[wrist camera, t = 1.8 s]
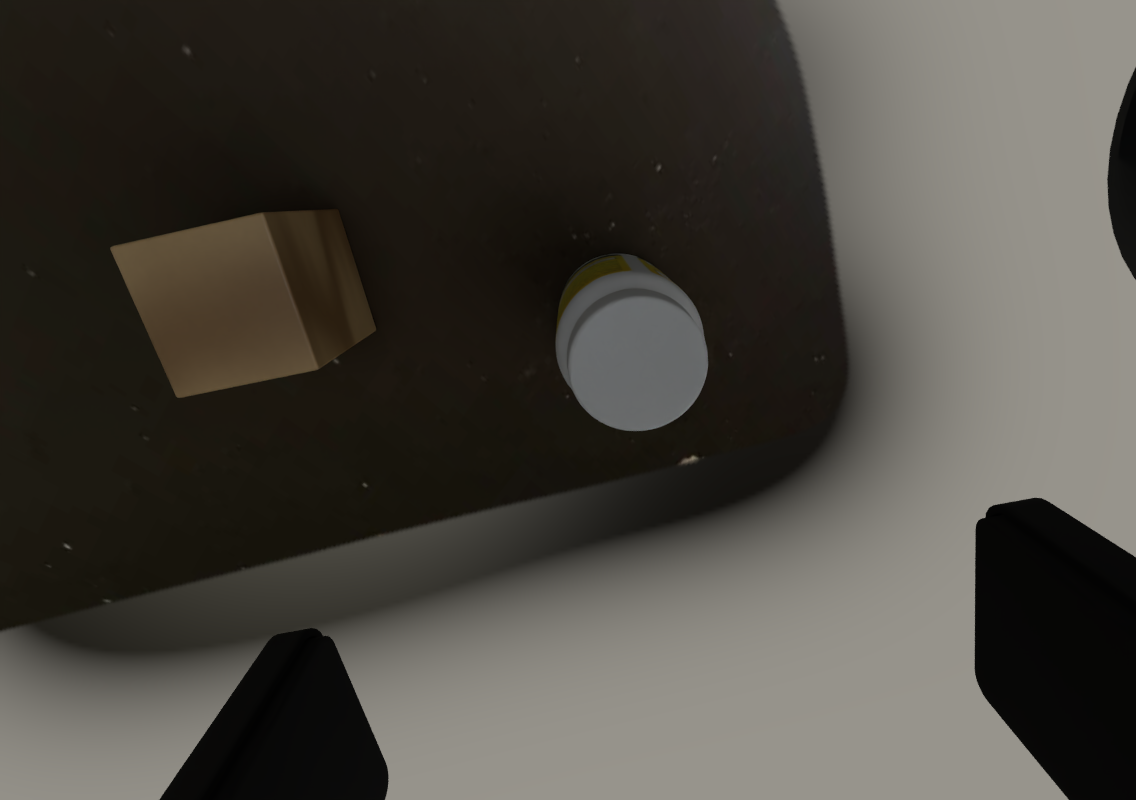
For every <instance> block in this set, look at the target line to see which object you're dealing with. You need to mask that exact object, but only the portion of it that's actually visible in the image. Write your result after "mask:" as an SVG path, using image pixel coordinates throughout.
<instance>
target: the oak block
mask: <svg viewBox="0 0 1136 800" xmlns="http://www.w3.org/2000/svg"><path fill="white" fill-rule="evenodd" d="M110 249H111V252H112V254H113V256H114V258H115V261H116V263H117V265H118V267H119V269H120V272H121V274H122V276H123V278H124V281H125V283H126V285H127V287H128V290H129V292H130V294H131V296H132V299H133V301H134V303H135V305H136V307H137V310H138V312H139V314H140V316H141V319H142V321H143V323H144V325H145V328H146V330H147V332H148V334H149V337H150V339H151V341H152V343H153V345H154V348H155V350H156V352H157V354H158V357H159V359H160V361H161V363H162V366H163V368H164V370H165V372H166V375H167V377H168V379H169V381H170V383H171V386H172V388H173V390H174V392H175V395H176V397H177V398H182V397H187V396H192V395H197V394H201V393H206V392H211V391H216V390H221V389H226V388H231V387H236V386H241V385H246V384H251V383H256V382H260V381H265V380H270V379H275V378H280V377H285V376H290V375H295V374H300V373H305V372H310V371H314V370H318V369H320V368H321V367H323V366H324V365H326V364H327V363H329V362H330V361H332V360H333V359H335V358H336V357H337V356H339V355H340V354H342V353H343V352H345V351H346V350H348V349H349V348H351V347H352V346H354V345H355V344H357V343H358V342H360V341H361V340H363V339H364V338H366V337H367V336H369V335H370V334H372V333H373V332H375V331H376V327H375V323H374V320H373V317H372V314H371V311H370V308H369V305H368V301H367V298H366V295H365V292H364V289H363V286H362V283H361V279H360V276H359V273H358V270H357V267H356V264H355V261H354V257H353V254H352V251H351V248H350V245H349V242H348V239H347V236H346V232H345V229H344V226H343V223H342V220H341V217H340V214H339V211H338V209H322V210H301V211H280V212H261V213H256V214H252V215H247V216H243V217H239V218H234V219H230V220H225V221H221V222H217V223H212V224H208V225H203V226H199V227H195V228H190V229H186V230H181V231H177V232H173V233H168V234H164V235H159V236H155V237H150V238H146V239H142V240H137V241H133V242H128V243H124V244H120V245H115V246H112V247H111V248H110Z"/></svg>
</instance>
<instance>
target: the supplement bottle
mask: <svg viewBox="0 0 1136 800" xmlns="http://www.w3.org/2000/svg"><path fill="white" fill-rule="evenodd" d="M555 340H556V356H557V361H558V364H559V368H560V370H561V373H562V375H563V377H564V379H565V380H566V382H567V384H568V385H569V386H570V388H571V389H572V390H573V392H574V394H575V396H576V398H577V400H578V401H579V403H580V404H581V406H582V407H583V408H584V409H585V410H586V411H587V412H588V413H589V414H590V415H591V416H592V417H594V418H595V419H597V420H598V421H600V422H602V423H604V424H606V425H608V426H610V427H613V428H617V429H621V430H626V431H644V430H651V429H655V428H658V427H661V426H663V425H666V424H668V423H670V422H672V421H673V420H675V419H676V418H678V417H680V416H681V415H682V414H683V413H684V412H685V411H687V410H688V408H689V407H690V406H691V405H692V404H693V403H694V401H695V400H696V398H697V397H698V395H699V393H700V392H701V389H702V387H703V385H704V382H705V379H706V375H707V369H708V353H707V347H706V343H705V339H704V331H703V326H702V322H701V319H700V316H699V314H698V312H697V309H696V307H695V305H694V304H693V302H692V301H691V300H690V298H689V297H688V296H687V295H686V293H685V292H684V291H683V290H682V289H681V288H680V287H679V286H677V285H676V284H675V283H674V282H672V281H671V280H670V279H669V278H668V277H667V276H666V275H665V274H663V273H662V272H661V271H660V270H658V269H657V268H656V267H655V266H654V265H652V264H651V263H649V262H648V261H646V260H644V259H642V258H639V257H637V256H634V255H629V254H608V255H603V256H599V257H596V258H594V259H592V260H590V261H588V262H586V263H585V264H583V265H582V266H581V267H580V268H578V269H577V270H576V271H575V272H574V273H573V274H572V276H571V277H570V278H569V280H568V282H567V283H566V285H565V287H564V289H563V291H562V294H561V298H560V302H559V307H558V319H557V330H556V339H555Z"/></svg>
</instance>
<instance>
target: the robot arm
mask: <svg viewBox="0 0 1136 800" xmlns="http://www.w3.org/2000/svg"><path fill="white" fill-rule="evenodd" d="M975 559H976V561H975V567H976V568H975V675H976V679H977V682H978V685H979V687H980V689H981V691H982V693H983V695H984V696H985V698H986V699H987V701H988V702H989V703H990V704H991V706H992V707H993V708H994V709H995V710H996V712H997V713H998V714H999V715H1000V716H1001V718H1002V719H1003V720H1004V721H1005V723H1006V724H1007V725H1008V726H1009V728H1010V729H1011V730H1012V731H1013V732H1014V734H1015V735H1016V736H1017V737H1018V738H1019V740H1020V741H1021V742H1022V743H1023V744H1024V746H1025V747H1026V748H1027V749H1028V750H1029V752H1030V753H1031V754H1032V755H1033V756H1034V758H1035V759H1036V760H1037V762H1038V763H1039V764H1040V765H1041V766H1042V767H1043V769H1044V770H1045V771H1046V772H1047V774H1048V775H1049V776H1050V777H1051V779H1052V780H1053V781H1054V782H1055V783H1056V785H1057V786H1058V787H1059V788H1060V789H1061V791H1062V792H1063V793H1064V794H1065V796H1067V798H1068V799H1069V800H1136V557H1134V556H1133V555H1131V554H1130V553H1128V552H1126V551H1125V550H1123V549H1122V548H1120V547H1119V546H1117V545H1116V544H1114V543H1112V542H1111V541H1109V540H1108V539H1106V538H1104V537H1103V536H1101V535H1100V534H1098V533H1097V532H1095V531H1093V530H1092V529H1090V528H1089V527H1087V526H1086V525H1084V524H1083V523H1081V522H1080V521H1078V520H1076V519H1075V518H1073V517H1072V516H1070V515H1069V514H1067V513H1065V512H1064V511H1062V510H1061V509H1059V508H1057V507H1056V506H1055V505H1053V504H1051V503H1050V502H1048V501H1046V500H1044V499H1042V498H1031V499H1026V500H1020V501H1016V502H1009V503H1004V504H998V505H993V506H992V507H990V508H989V509H988V511H987V512H986V518H982V519H980V520H979V521H978V522H977V524H976V558H975ZM387 789H388V769H387V765H386V762H385V760H384V758H383V755H382V753H381V751H380V748H379V746H378V744H377V741H376V739H375V737H374V734H373V732H372V730H371V727H370V725H369V723H368V721H367V718H366V716H365V713H364V711H363V709H362V706H361V704H360V702H359V699H358V697H357V695H356V693H355V690H354V688H353V685H352V683H351V681H350V679H349V676H348V674H347V671H346V669H345V667H344V664H343V662H342V660H341V658H340V655H339V653H338V650H337V648H336V646H335V644H334V642H333V640H332V639H331V638H330V637H328V636H323V635H322V634H321V632H320V631H318V630H317V629H313V628H310V629H304V630H299V631H294V632H288V633H282V634H277V635H275V636H273V637H272V638H271V639H270V640H269V641H268V643H267V644H266V645H265V647H264V648H263V650H262V651H261V653H260V654H259V656H258V657H257V659H256V660H255V661H254V663H253V664H252V666H251V667H250V669H249V670H248V672H247V673H246V674H245V676H244V677H243V679H242V680H241V682H240V683H239V685H238V686H237V688H236V689H235V690H234V692H233V693H232V695H231V696H230V698H229V699H228V701H227V702H226V704H225V705H224V706H223V708H222V709H221V711H220V712H219V714H218V715H217V717H216V718H215V720H214V721H213V722H212V724H211V725H210V727H209V728H208V730H207V731H206V733H205V734H204V736H203V737H202V738H201V740H200V741H199V743H198V744H197V746H196V747H195V749H194V750H193V752H192V753H191V754H190V756H189V757H188V759H187V760H186V762H185V763H184V765H183V766H182V768H181V769H180V770H179V772H178V773H177V775H176V776H175V778H174V779H173V781H172V782H171V784H170V785H169V787H168V788H167V790H166V791H165V792H164V794H163V795H162V797H161V798H160V800H385V797H386V794H387Z"/></svg>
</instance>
